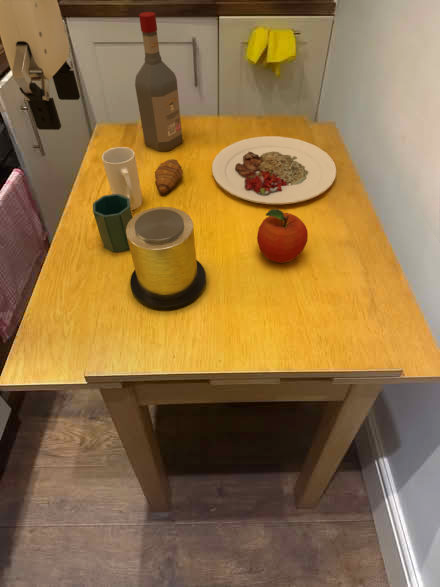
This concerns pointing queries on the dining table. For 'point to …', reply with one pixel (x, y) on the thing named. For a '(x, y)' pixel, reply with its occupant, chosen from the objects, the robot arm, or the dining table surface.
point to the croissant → (167, 175)
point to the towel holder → (164, 259)
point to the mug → (123, 174)
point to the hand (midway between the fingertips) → (60, 113)
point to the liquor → (157, 93)
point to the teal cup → (113, 221)
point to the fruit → (281, 236)
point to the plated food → (274, 170)
